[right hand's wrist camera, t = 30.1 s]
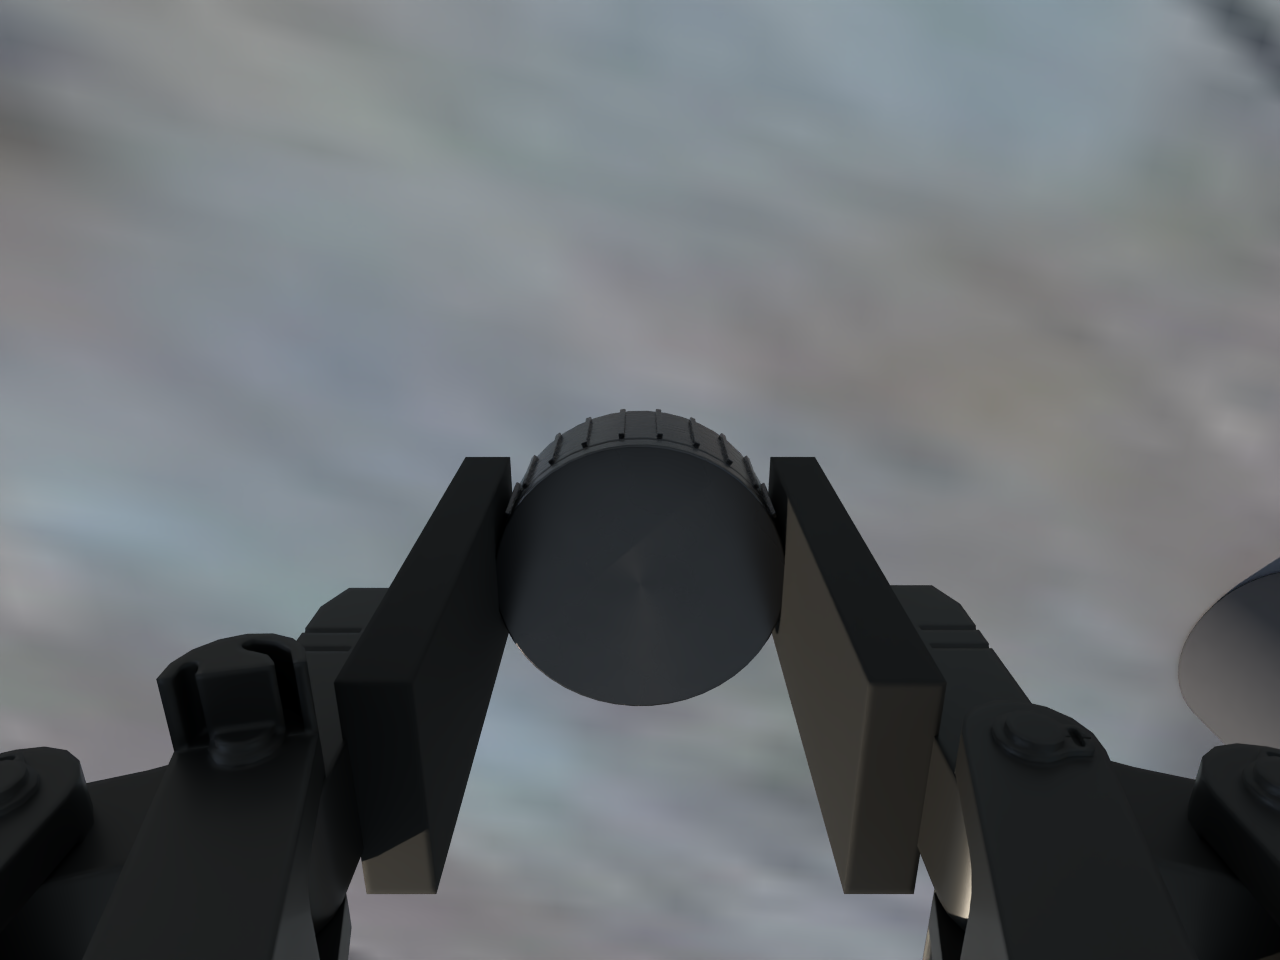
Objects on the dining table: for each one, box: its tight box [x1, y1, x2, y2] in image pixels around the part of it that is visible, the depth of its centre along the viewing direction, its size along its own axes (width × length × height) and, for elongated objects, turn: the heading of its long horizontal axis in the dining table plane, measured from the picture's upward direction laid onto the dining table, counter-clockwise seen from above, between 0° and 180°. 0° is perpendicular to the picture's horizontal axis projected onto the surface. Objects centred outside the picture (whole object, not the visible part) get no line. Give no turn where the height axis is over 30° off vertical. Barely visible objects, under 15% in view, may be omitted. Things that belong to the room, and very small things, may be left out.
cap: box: [496, 409, 785, 706], centre depth 14 cm, size 5×5×2 cm
